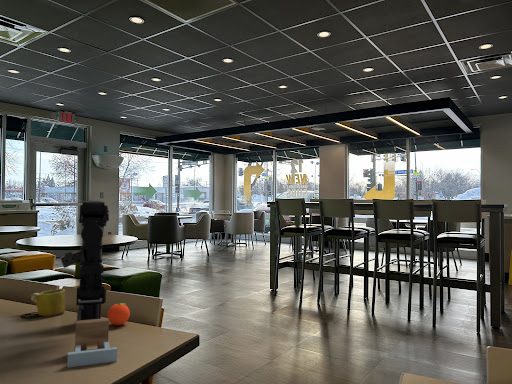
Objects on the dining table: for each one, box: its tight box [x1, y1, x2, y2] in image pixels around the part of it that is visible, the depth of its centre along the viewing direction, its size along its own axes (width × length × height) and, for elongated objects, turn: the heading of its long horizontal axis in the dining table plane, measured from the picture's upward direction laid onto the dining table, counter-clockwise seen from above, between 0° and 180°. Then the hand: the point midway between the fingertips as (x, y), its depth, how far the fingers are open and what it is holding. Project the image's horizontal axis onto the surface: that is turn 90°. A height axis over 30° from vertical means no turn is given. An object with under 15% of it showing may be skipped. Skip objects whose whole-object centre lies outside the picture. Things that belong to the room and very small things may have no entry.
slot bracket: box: [66, 341, 118, 368], centre depth 97 cm, size 6×11×3 cm, turn 114°
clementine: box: [107, 302, 132, 326], centre depth 128 cm, size 8×7×7 cm
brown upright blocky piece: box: [74, 317, 110, 351], centre depth 100 cm, size 9×8×8 cm
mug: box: [30, 288, 66, 317], centre depth 141 cm, size 12×10×10 cm
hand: (90, 293), depth 118 cm, fingers closed
